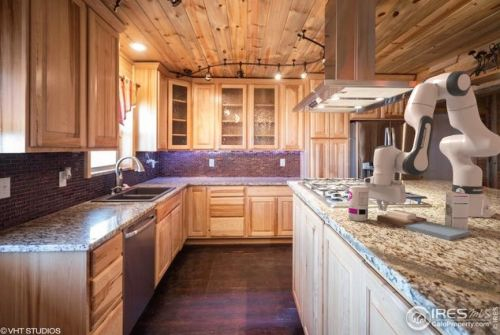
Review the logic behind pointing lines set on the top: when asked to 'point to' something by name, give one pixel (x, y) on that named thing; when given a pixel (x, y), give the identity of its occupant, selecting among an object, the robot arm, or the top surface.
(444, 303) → the top surface
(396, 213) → the cream rectangular block
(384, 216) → the brown square tile
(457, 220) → the syrup box
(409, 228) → the mat
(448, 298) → the top surface
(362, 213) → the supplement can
